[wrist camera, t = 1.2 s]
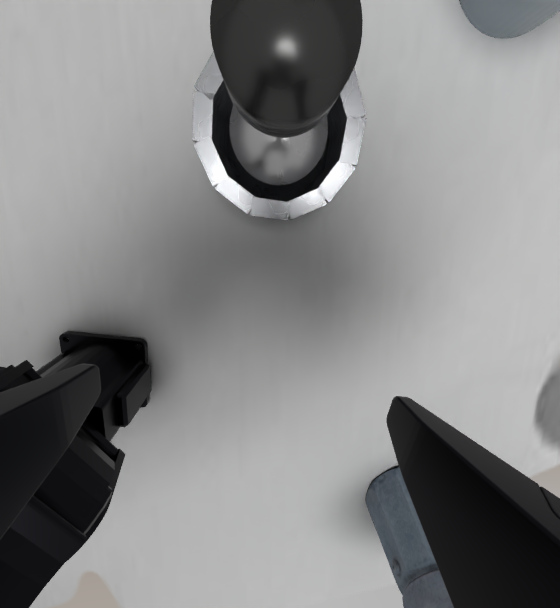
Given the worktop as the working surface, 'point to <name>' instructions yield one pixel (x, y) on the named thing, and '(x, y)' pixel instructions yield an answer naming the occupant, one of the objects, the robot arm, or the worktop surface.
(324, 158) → the press carafe
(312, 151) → the plunger
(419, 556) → the moka pot
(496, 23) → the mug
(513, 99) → the worktop surface
